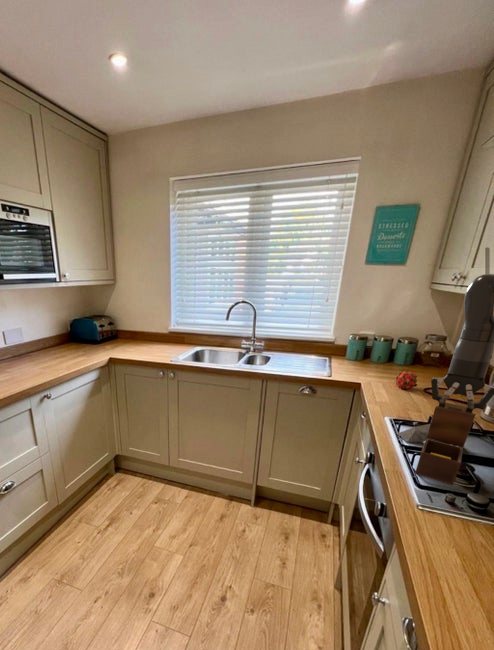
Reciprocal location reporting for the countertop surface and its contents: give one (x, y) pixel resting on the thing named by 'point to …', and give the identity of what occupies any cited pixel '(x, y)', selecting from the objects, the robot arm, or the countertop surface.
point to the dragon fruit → (406, 380)
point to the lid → (451, 424)
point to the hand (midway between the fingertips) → (451, 417)
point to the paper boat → (415, 433)
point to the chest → (439, 461)
